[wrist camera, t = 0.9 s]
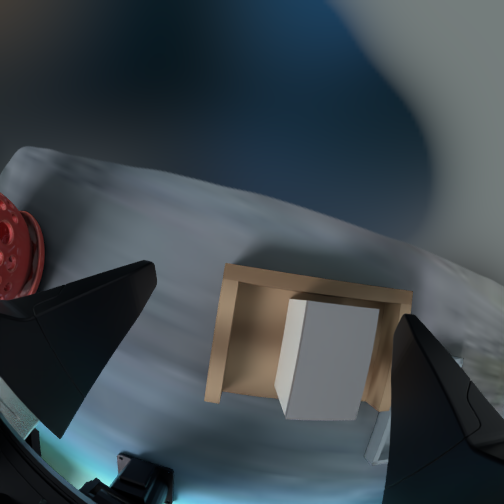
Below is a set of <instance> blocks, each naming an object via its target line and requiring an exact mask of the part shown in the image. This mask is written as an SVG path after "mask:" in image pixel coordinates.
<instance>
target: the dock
mask: <svg viewBox="0 0 504 504" xmlns="http://www.w3.org/2000/svg"><path fill="white" fill-rule="evenodd" d="M412 296H413V291H407V290H400V289H393V288H385V287H378V286H371V285H364V284H357V283H350V282H344V281H337V280H330V279H323V278H317V277H310V276H304V275H297V274H291V273H284V272H278V271H272V270H265V269H259V268H253V267H247V266H241V265H235V264H228V263H225V269H224V275H223V281H222V287H221V293H220V299H219V305H218V311H217V318H216V324H215V330H214V337H213V344H212V350H211V357H210V364H209V371H208V378H207V385H206V392H205V399H204V401H207V402H213V403H218V404H219V402H220V398H221V394H222V391H224V392H230V393H236V394H243V395H250V396H258V397H267V398H277V399H279V398H278V395H277V392H276V389H275V386H274V384H275V379H276V374H277V368H278V363H279V358H280V352H281V346H282V341H283V335H284V329H285V323H286V317H287V311H288V305H289V299H296V300H307V301H315V302H323V303H331V304H339V305H347V306H355V307H364V308H373V309H379V316H378V323H377V329H376V335H375V340H374V346H373V351H372V356H371V361H370V366H369V370H368V375H367V379H366V383H365V387H364V391H363V395H362V399H361V401H366V402H367V403H368V404H370V405H371V406H372V407H373V408H374V409H376V410H377V411H378V412H382V411H389V410H390V407H391V367H392V351H393V335H394V332H395V330H396V327H397V325H398V323H399V321H400V319H401V317H402V315H403V314H405V313H406V314H410V313H411V305H412Z"/></svg>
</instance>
